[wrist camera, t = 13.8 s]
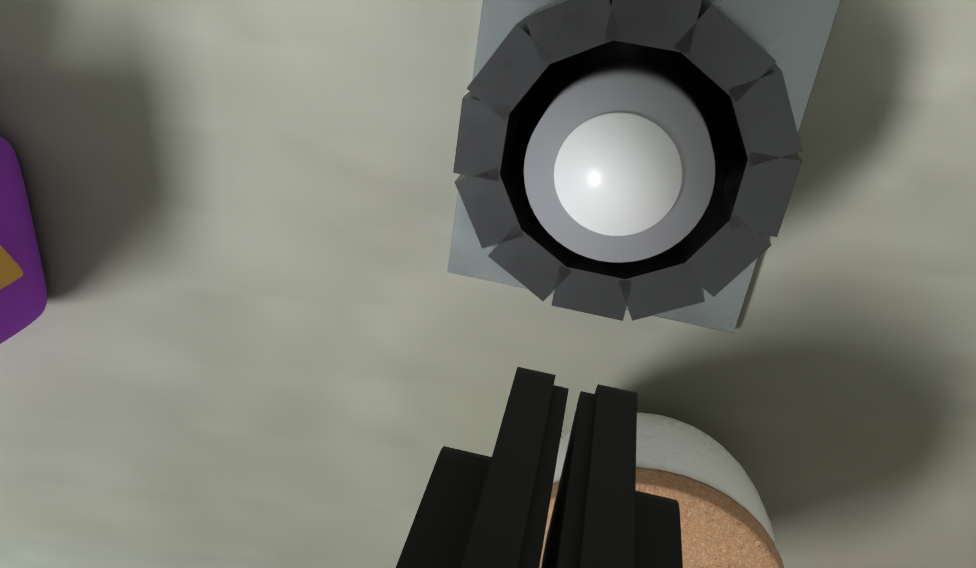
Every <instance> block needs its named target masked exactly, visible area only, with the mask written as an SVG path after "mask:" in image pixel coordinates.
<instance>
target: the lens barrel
mask: <svg viewBox="0 0 976 568" xmlns="http://www.w3.org/2000/svg"><path fill="white" fill-rule="evenodd" d="M839 3H840V0H483V4H482V12H481V19H480V27H479V35H478V42H477V50H476V57H475V65H474V73H473V80H472V82H471V83H470V85H469V86H468V87H467V89H468V90H469V91H470V92H469V93H467V94H466V95H465V96H464V97H463V100H462V108H461V116H460V124H459V132H458V140H457V147H456V155H455V163H454V171H453V173H458V174H460V176H459V177H458V178H457V180H456V181H455V184H456V187H457V189H458V195H457V203H456V210H455V218H454V226H453V233H452V241H451V248H450V256H449V264H448V271H447V272H450V273H454V274H459V275H464V276H469V277H473V278H478V279H483V280H487V281H492V282H497V283H501V284H506V285H511V286H515V287H520V288H525V289H529V290H530V291H531V292H532V293H534V294H535V295H536V296H537V297H539V298H540V299H541V300H542V301H544V300H545V299H546V298H547V297H548V296H549V295H550V294H553V295H554V296H553V301H552V306H557V307H562V308H566V309H571V310H576V311H580V312H585V313H590V314H594V315H599V316H603V317H608V318H613V319H617V320H622V321H623V318H624V314H625V310H628V311H629V312H630V315H631V318H632V320H636V319H640V318H644V317H648V316H656V317H660V318H665V319H670V320H674V321H679V322H684V323H689V324H693V325H698V326H703V327H707V328H712V329H717V330H721V331H726V332H731V333H734V330H735V327H736V324H737V321H738V318H739V315H740V311H741V308H742V305H743V302H744V299H745V296H746V293H747V290H748V287H749V283H750V280H751V277H752V274H753V271H754V268H755V265H756V262H757V258H758V257H759V256H760V255H761V254H762V253H763V252H765V251H766V250H767V249H768V248H769V247H770V246H771V243H770V240H769V237H768V235H770V236H775V237H777V235H778V232H779V229H780V226H781V223H782V220H783V217H784V214H785V211H786V208H787V205H788V202H789V199H790V196H791V193H792V190H793V187H794V184H795V181H796V177H797V174H798V171H799V168H800V165H801V162H802V161H801V159H800V157H799V156H798V154H797V153H796V152H800V151H802V148H801V144H800V140H799V136H798V131H799V128H800V124H801V121H802V118H803V115H804V112H805V109H806V106H807V103H808V100H809V96H810V93H811V90H812V87H813V84H814V81H815V78H816V75H817V71H818V68H819V65H820V62H821V59H822V56H823V53H824V50H825V47H826V43H827V40H828V37H829V34H830V31H831V28H832V25H833V22H834V19H835V15H836V12H837V9H838V6H839ZM619 59H632V60H641V61H645V62H649V63H653V64H655V65H658V66H660V67H663V68H664V69H666V70H668V71H670V72H672V73H673V74H674V75H676V76H677V77H678V78H680V79H681V80H682V81H683V82H684V83H685V84H686V85H687V86H688V87H689V88H690V90H691V91H692V92H693V94H694V95H695V96H696V98H697V100H698V102H699V104H700V105H701V108H702V110H703V113H704V116H705V120H706V124H707V128H708V132H709V136H710V140H711V144H712V149H713V153H714V160H715V181H714V186H713V191H712V195H711V198H710V201H709V204H708V206H707V208H706V210H705V212H704V214H703V216H702V217H701V219H700V220H699V222H698V223H697V224H696V226H695V227H694V228H693V229H692V230H691V231H690V233H689V234H688V235H687V236H685V237H684V238H683V239H682V240H681V241H680V242H678V243H677V244H675V245H674V246H672V247H671V248H669V249H668V250H666V251H664V252H662V253H660V254H658V255H655V256H652V257H649V258H647V259H642V260H638V261H632V262H605V261H598V260H595V259H591V258H587V257H585V256H582V255H580V254H577V253H575V252H573V251H572V250H570V249H568V248H566V247H565V246H563V245H562V244H561V243H559V242H558V241H557V240H555V239H554V238H553V237H552V236H551V235H550V234H549V233H548V232H547V231H546V230H545V228H544V227H543V226H542V225H541V223H540V222H539V220H538V219H537V217H536V216H535V214H534V212H533V210H532V207H531V205H530V203H529V200H528V196H527V193H526V188H525V182H524V162H525V155H526V151H527V147H528V144H529V141H530V138H531V136H532V134H533V132H534V130H535V128H536V126H537V124H538V123H539V121H540V120H541V118H542V116H543V115H544V113H545V111H546V110H547V108H548V106H549V105H550V103H551V102H552V100H553V98H554V97H555V96H556V94H557V93H558V91H559V90H560V89H561V88H562V87H563V86H564V85H565V84H566V83H567V82H568V81H569V80H570V79H572V78H573V77H574V76H575V75H577V74H578V73H580V72H582V71H583V70H585V69H587V68H589V67H591V66H594V65H596V64H599V63H603V62H606V61H612V60H619Z"/></svg>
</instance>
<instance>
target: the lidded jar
mask: <svg viewBox="0 0 976 568" xmlns="http://www.w3.org/2000/svg"><path fill="white" fill-rule="evenodd" d="M570 434H571V431H569V432H568V433H566V434H565V435H563V436H562V437H561V438H560V444H559V450H558V456H557V463H556V469H555V475H554V481H553V487H552V493H551V499H550V505H549V512H548V518H547V524H546V530H545V536H544V542H543V548H542V554H541V561H540V567H539V568H541V564H542V558H543V553H544V548H545V543H546V538H547V533H548V529H549V524H550V520H551V516H552V512H553V507H554V503H555V499H556V494H557V490H558V486H559V481H560V477H561V473H562V468H563V464H564V460H565V455H566V451H567V447H568V442H569V438H570ZM635 490H636V491H640V492H645V493H649V494H653V495H658V496H662V497H666V498H671V499H675V500H677V501H678V503H679V509H680V522H681V541H682V559H683V568H784V566H783V562H782V559H781V557H780V555H779V552H778V550H777V547H776V542H775V538H774V534H773V530H772V526H771V523H770V520H769V518H768V515H767V513H766V510H765V508H764V505H763V503H762V501H761V499H760V496H759V494H758V492H757V490H756V488H755V487H754V485H753V483H752V481H751V480H750V478H749V477H748V475H747V474H746V472H745V471H744V469H743V468H742V466H741V465H740V464H739V463H738V462H737V461H736V460H735V459H734V458H733V456H732V455H731V454H730V453H729V452H728V451H727V450H726V449H725V448H724V447H723V446H722V445H721V444H719V443H718V442H717V441H715V440H714V439H713V438H711V437H710V436H709V435H708V434H706V433H704V432H702V431H700V430H699V429H697V428H695V427H693V426H691V425H689V424H687V423H684V422H681V421H679V420H676V419H674V418H670V417H666V416H662V415H658V414H651V413H642V412H637V438H636V489H635Z"/></svg>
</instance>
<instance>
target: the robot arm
mask: <svg viewBox="0 0 976 568" xmlns="http://www.w3.org/2000/svg"><path fill="white" fill-rule="evenodd" d="M554 380H555V375H553V374H548V373H544V372H539V371H534V370H530V369H525V368H521V367H518V368H517V371H516V374H515V378H514V381H513V385H512V388H511V392H510V395H509V399H508V402H507V406H506V409H505V413H504V417H503V420H502V424H501V427H500V431H499V434H498V438H497V441H496V445H495V448H494V452H493V455H492V457H488V456H484V455H480V454H475V453H471V452H467V451H462V450H458V449H454V448H449V447H445V446H444V447H443V448H442V449H441V451H440V454H439V456H438V458H437V461H436V464H435V466H434V469H433V472H432V474H431V477H430V479H429V482H428V485H427V487H426V490H425V493H424V495H423V498H422V500H421V503H420V506H419V508H418V511H417V514H416V516H415V519H414V521H413V524H412V527H411V529H410V532H409V535H408V537H407V540H406V542H405V545H404V548H403V550H402V553H401V556H400V558H399V561H398V563H397V566H396V568H539V567H540V561H541V554H542V548H543V542H544V536H545V530H546V524H547V518H548V512H549V505H550V499H551V493H552V487H553V481H554V475H555V469H556V463H557V456H558V450H559V444H560V438H561V432H562V426H563V420H564V414H565V408H566V401H567V395H568V388H564V387H559V386H555V385H554ZM636 438H637V393H635V392H631V391H626V390H622V389H617V388H612V387H608V386H603V385H599V384H598V385H597V388H596V391H595V394H591V393H587V392H582V391H581V392H580V395H579V399H578V403H577V408H576V412H575V416H574V421H573V425H572V429H571V434H570V438H569V442H568V447H567V451H566V455H565V460H564V464H563V468H562V473H561V477H560V481H559V486H558V490H557V494H556V499H555V503H554V507H553V512H552V516H551V520H550V524H549V529H548V533H547V538H546V543H545V548H544V553H543V558H542V564H541V568H683V559H682V541H681V522H680V509H679V503H678V501H677V500H675V499H671V498H666V497H662V496H658V495H653V494H649V493H645V492H640V491H636V490H635V489H636Z"/></svg>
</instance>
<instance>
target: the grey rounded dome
mask: <svg viewBox="0 0 976 568" xmlns="http://www.w3.org/2000/svg"><path fill="white" fill-rule="evenodd" d="M714 181H715V160H714V153H713V149H712V144H711V140H710V136H709V132H708V128H707V124H706V120H705V116H704V113H703V110H702V108H701V105H700V104H699V102H698V100H697V98H696V96H695V95H694V94H693V92H692V91H691V90H690V88H689V87H688V86H687V85H686V84H685V83H684V82H683V81H682V80H681V79H680V78H678V77H677V76H676V75H674V74H673V73H672V72H670V71H668V70H666V69H664V68H663V67H660V66H658V65H655V64H653V63H649V62H645V61H641V60H632V59H619V60H612V61H606V62H603V63H599V64H596V65H594V66H591V67H589V68H587V69H585V70H583V71H582V72H580V73H578V74H577V75H575V76H574V77H573V78H572V79H570V80H569V81H568V82H567V83H566V84H565V85H564V86H563V87H562V88H561V89H560V90H559V91H558V93H557V94H556V96H555V97H554V98H553V100H552V102H551V103H550V105H549V106H548V108H547V110H546V111H545V113H544V115H543V116H542V118H541V120H540V121H539V123H538V124H537V126H536V128H535V130H534V132H533V134H532V136H531V138H530V141H529V144H528V147H527V151H526V155H525V162H524V182H525V188H526V193H527V196H528V200H529V203H530V205H531V207H532V210H533V212H534V214H535V216H536V217H537V219H538V220H539V222H540V223H541V225H542V226H543V227H544V228H545V230H546V231H547V232H548V233H549V234H550V235H551V236H552V237H553V238H554V239H555V240H557V241H558V242H559V243H561V244H562V245H563V246H565V247H566V248H568V249H570V250H572V251H573V252H575V253H577V254H580V255H582V256H585V257H587V258H591V259H595V260H598V261H605V262H632V261H638V260H642V259H647V258H649V257H652V256H655V255H658V254H660V253H662V252H664V251H666V250H668V249H669V248H671V247H672V246H674V245H675V244H677V243H678V242H680V241H681V240H682V239H683V238H684V237H685V236H687V235H688V234H689V233H690V231H691V230H692V229H693V228H694V227H695V226H696V224H697V223H698V222H699V220H700V219H701V217H702V216H703V214H704V212H705V210H706V208H707V206H708V204H709V201H710V198H711V195H712V191H713V186H714Z"/></svg>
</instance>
